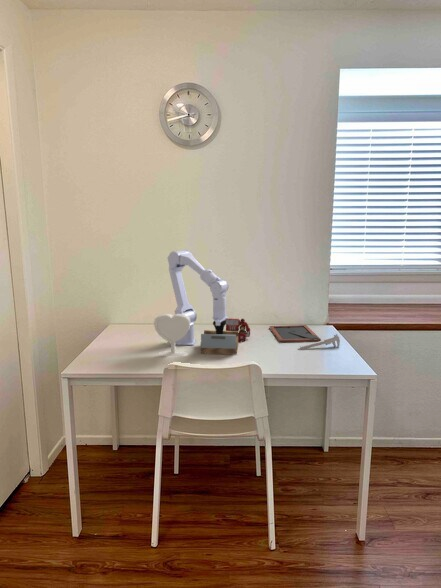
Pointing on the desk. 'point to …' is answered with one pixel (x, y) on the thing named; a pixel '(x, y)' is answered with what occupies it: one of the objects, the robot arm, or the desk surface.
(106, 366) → the desk surface
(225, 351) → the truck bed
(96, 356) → the desk surface
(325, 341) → the caliper
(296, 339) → the picture frame
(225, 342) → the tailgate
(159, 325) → the heart sculpture
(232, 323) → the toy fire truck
